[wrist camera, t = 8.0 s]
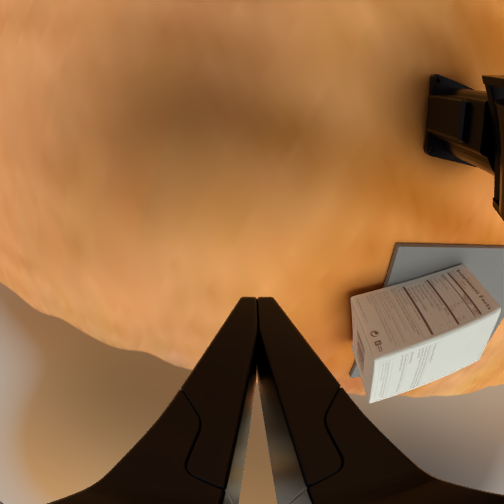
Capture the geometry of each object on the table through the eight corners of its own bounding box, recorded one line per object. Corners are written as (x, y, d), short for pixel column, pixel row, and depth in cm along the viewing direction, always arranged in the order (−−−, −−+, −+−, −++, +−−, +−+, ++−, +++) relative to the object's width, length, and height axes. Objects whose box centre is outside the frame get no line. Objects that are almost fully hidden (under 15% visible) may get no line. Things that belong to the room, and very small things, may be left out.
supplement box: (350, 346, 27) (450, 315, 25) (367, 406, 20) (480, 362, 19) (348, 293, 23) (463, 261, 22) (374, 358, 17) (504, 308, 15)
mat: (532, 246, 22) (535, 249, 21) (481, 347, 31) (482, 349, 30) (395, 242, 21) (398, 246, 21) (349, 374, 31) (350, 377, 30)
